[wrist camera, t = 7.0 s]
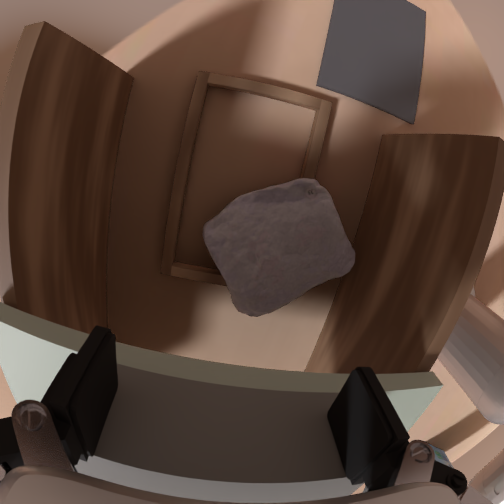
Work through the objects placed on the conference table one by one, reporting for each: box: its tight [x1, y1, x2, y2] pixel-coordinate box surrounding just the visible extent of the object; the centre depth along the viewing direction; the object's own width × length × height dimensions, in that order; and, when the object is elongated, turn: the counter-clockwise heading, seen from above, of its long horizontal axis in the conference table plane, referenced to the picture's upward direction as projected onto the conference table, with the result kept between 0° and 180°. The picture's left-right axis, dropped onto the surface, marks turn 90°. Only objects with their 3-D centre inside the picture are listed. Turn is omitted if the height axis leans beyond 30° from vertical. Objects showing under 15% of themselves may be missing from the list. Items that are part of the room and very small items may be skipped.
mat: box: [316, 0, 426, 124], centre depth 21 cm, size 11×16×1 cm
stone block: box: [203, 178, 355, 317], centre depth 25 cm, size 12×5×10 cm
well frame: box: [0, 21, 504, 374], centre depth 21 cm, size 28×37×15 cm
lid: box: [0, 302, 443, 503], centre depth 13 cm, size 28×15×6 cm, turn 77°
